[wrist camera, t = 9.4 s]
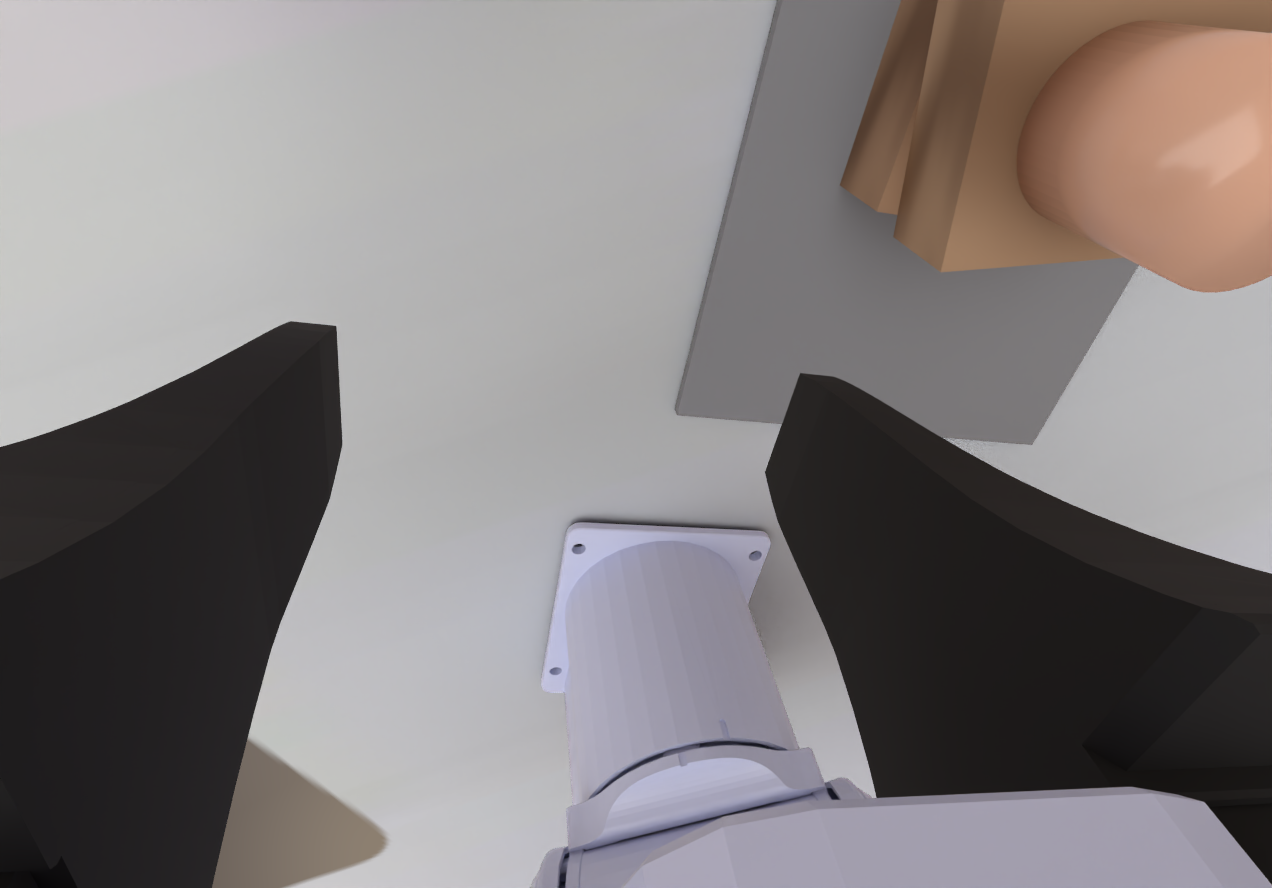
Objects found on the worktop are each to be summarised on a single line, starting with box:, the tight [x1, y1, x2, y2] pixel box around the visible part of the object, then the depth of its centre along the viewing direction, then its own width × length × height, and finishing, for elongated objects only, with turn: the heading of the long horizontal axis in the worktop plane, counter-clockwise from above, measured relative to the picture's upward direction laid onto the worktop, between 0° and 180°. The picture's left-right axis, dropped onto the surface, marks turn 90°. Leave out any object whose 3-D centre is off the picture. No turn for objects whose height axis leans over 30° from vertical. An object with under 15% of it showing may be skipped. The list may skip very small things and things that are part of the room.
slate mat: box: [675, 0, 1272, 445], centre depth 21 cm, size 16×14×1 cm
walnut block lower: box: [840, 0, 938, 215], centre depth 18 cm, size 6×6×2 cm
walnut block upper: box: [893, 0, 1272, 272], centre depth 16 cm, size 6×6×2 cm
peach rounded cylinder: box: [1017, 20, 1272, 292], centre depth 13 cm, size 4×4×4 cm
